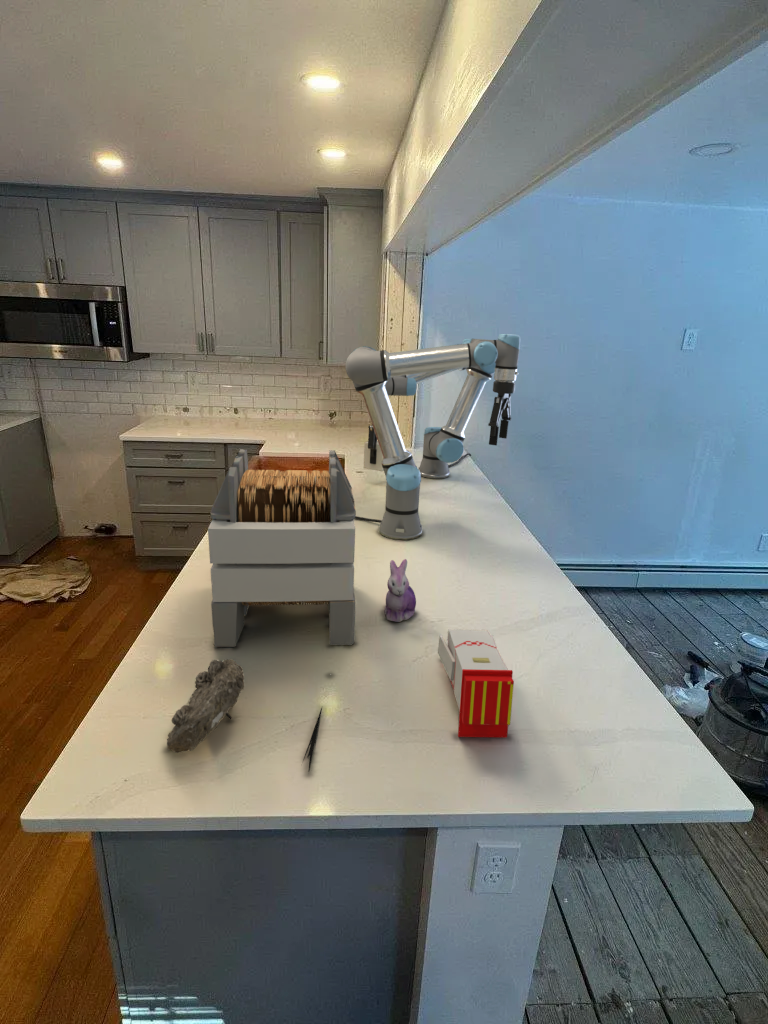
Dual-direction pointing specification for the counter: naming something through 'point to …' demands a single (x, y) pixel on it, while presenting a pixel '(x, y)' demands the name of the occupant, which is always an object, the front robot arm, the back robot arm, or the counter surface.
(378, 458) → the block
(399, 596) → the figurine
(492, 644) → the toy
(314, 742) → the feather
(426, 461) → the back robot arm
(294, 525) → the transformer
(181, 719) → the fossil
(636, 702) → the counter surface
